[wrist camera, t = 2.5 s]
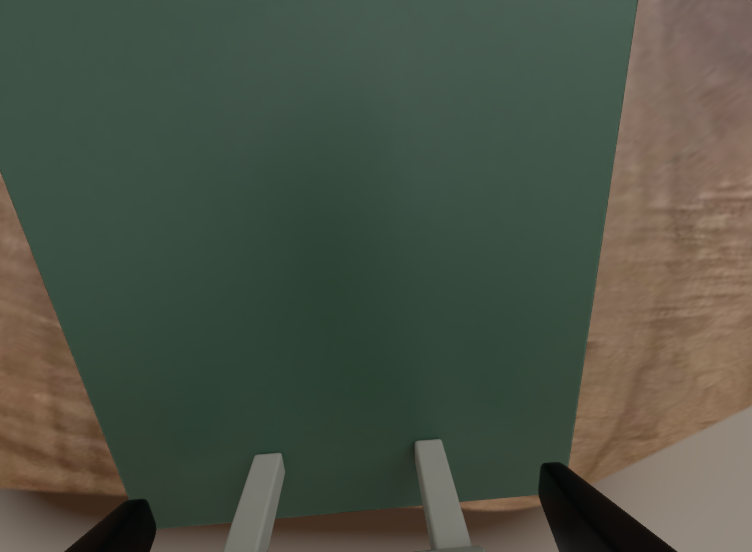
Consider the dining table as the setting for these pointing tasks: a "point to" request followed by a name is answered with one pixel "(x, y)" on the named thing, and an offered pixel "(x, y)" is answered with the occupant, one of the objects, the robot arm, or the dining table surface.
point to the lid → (319, 240)
